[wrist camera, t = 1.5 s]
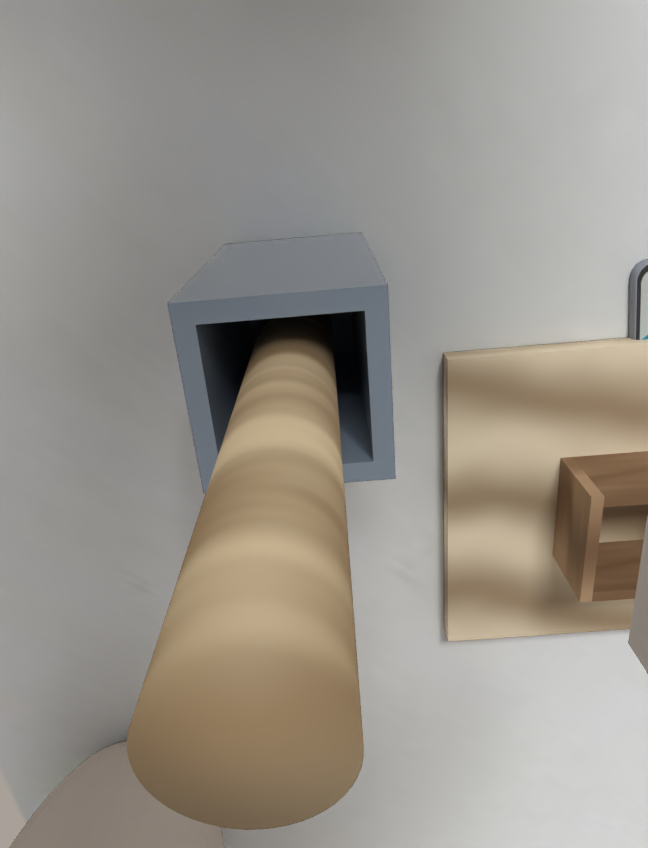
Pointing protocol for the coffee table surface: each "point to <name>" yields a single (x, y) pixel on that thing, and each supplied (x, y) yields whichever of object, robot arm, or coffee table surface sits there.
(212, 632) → the dowel
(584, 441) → the board with square socket
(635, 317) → the smartphone
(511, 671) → the coffee table surface
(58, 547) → the coffee table surface
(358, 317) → the grey square tube
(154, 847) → the vase
